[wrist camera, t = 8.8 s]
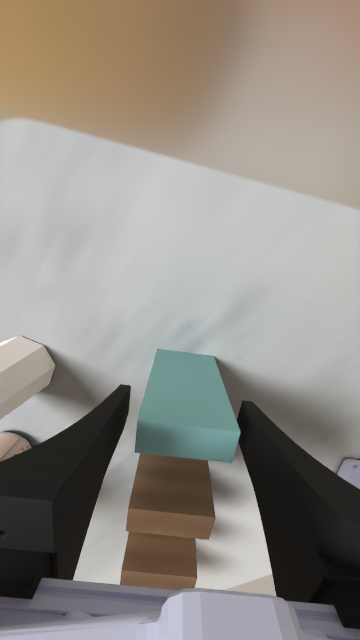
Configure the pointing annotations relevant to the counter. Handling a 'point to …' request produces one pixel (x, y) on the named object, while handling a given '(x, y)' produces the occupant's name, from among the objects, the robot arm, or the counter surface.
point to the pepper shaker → (22, 372)
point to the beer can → (12, 445)
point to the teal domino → (186, 410)
